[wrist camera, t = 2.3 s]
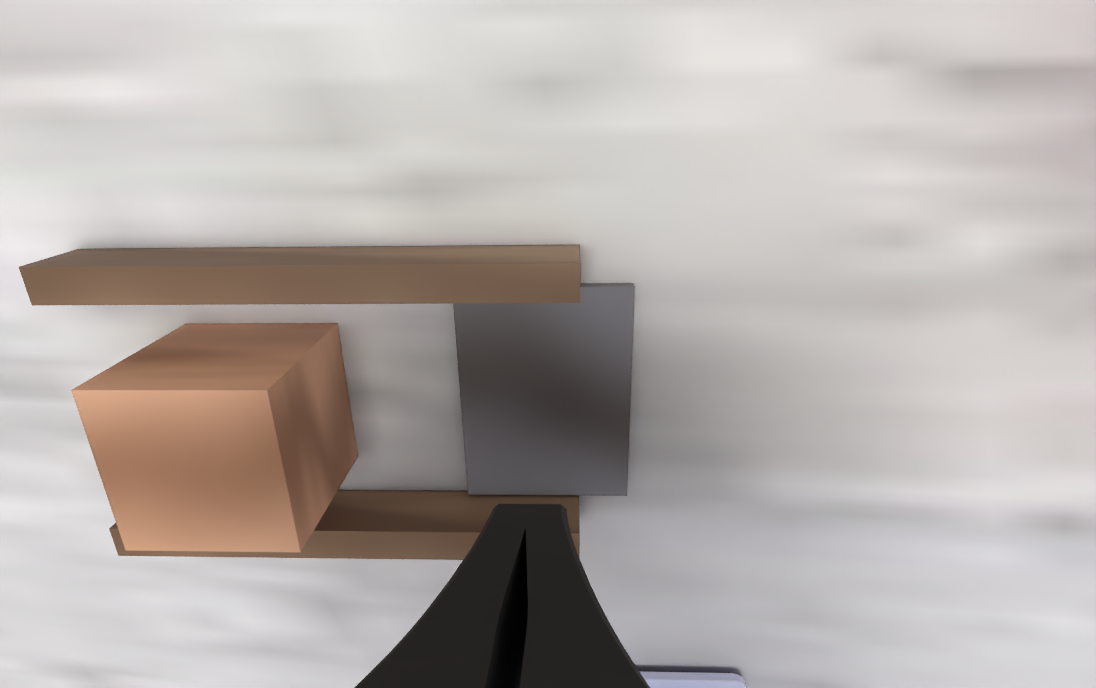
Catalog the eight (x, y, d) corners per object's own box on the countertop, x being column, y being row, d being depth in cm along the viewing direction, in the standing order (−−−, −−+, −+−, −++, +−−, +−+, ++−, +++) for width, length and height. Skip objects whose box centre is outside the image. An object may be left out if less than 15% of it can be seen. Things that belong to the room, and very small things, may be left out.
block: (358, 455, 19) (300, 552, 15) (220, 454, 20) (125, 550, 15) (338, 322, 18) (267, 390, 14) (187, 322, 18) (71, 390, 14)
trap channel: (624, 518, 20) (630, 561, 18) (159, 514, 20) (118, 555, 19) (634, 244, 16) (643, 262, 15) (79, 248, 17) (18, 267, 15)
